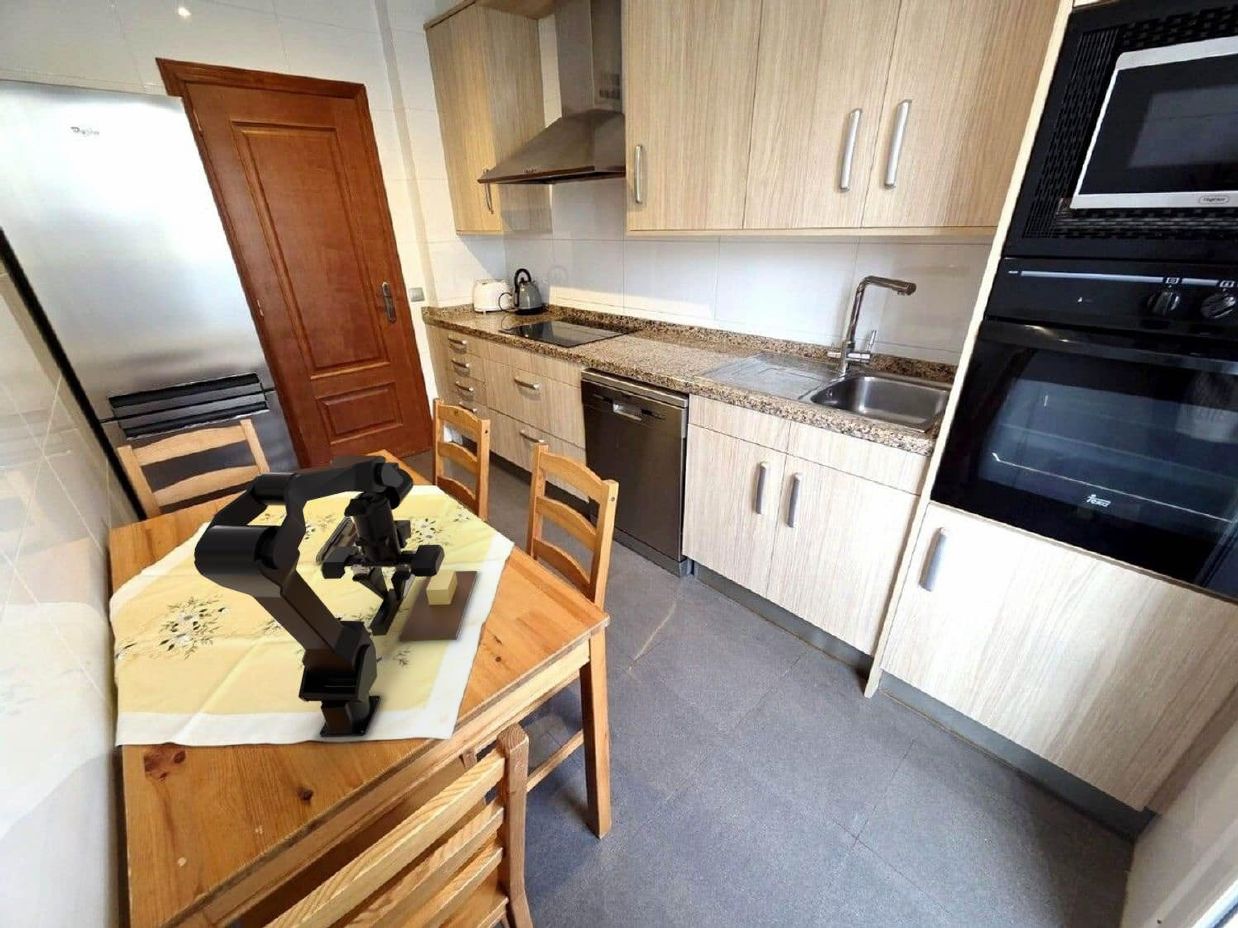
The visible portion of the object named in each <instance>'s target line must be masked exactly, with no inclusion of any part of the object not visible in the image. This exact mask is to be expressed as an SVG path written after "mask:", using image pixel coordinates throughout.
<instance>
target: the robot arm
mask: <svg viewBox="0 0 1238 928" xmlns="http://www.w3.org/2000/svg"><path fill="white" fill-rule="evenodd" d="M414 483H415V482H414V479H413V478H412V476H411V475H410V473H409V472H407V471H406V470H405V469H403V468H401V467H400V464H399V462H396V461H395V462H394V461H392V462H390V461H388V462H387V458H386V457H385V456H384V455H373V454H371V455H370V454H369V455H368V454H366V455H365V454H353V455H352V454H342V455H340V456H338V457H335V458H333V459H331V460H330V461H329V464H327V465H323V466H313V467H307V468H299V469H294V470H286V471H266V472H265V471H264V472H262V473H260V474H257V475H255V477H253V479H252V480H251V482H250V483H249V485H248V487H247V489H246V490H245V491H244V492H243V493H241V494H240V495H239V496H237V497H236V498H234V499H233V500H232V501H231V502H229V503H228V504H227V505H225V506H224V507H222V508H221V509H219V510H218V511H217V512H216V514H214V516H213V518H212V520H210V522H209V524H208V526H207V527H206V529H205V530H204V532H203V534H202V535H201V536H200V537H199V539H198V541H197V543H196V544H195V547H194V553H193V558H194V560H193V564H194V566H195V569H196V570H197V572H198V573H199V575H200V576H202V577H204V578H206V579H207V580H209V581H211V582H212V583H214V584H216V585H218V586H220V587H223V588H225V589H229V590H231V591H235V592H238V593H241V594H245V595H248V596H250V597H251V598H253V599H254V600H255V601H256V602H257V603H258V604H259V605H260V606H261V607H262V609H264V610H265V611H266V612H267V613H268V614H269V615H270V616H271V617H272V618H273V619H274V620H275V621H276V622H277V623H278V624H279V625H280V626H281V627H282V628H283V629H284V630H285V631H286V632H287V633H288V634H289V635H290V636H291V637H292V638H293V639H294V640H295V641H296V642H297V643H298V644H299V645H300V646H301V647H302V648H303V649H304V652H303V655H302V658H301V663H302V665H303V671H302V676H301V681H300V685H299V691H298V694H297V695H298V698H299V700H301V701H303V702H304V703H309V702H320V703H321V705H320V710H321V713H322V716H323V718H324V720H325V722H324V724H323V726H322V728H321V730H320V732H319V737H320V738H343V737H344V738H345V737H346V738H347V737H363V736H365V735H366V734H367V732H368V730H369V728H370V724H371V723H372V721H373V718H374V716H375V714H376V711H377V709H378V708H379V704H380V702H381V700H382V699H381V696H380V695H370V691H371V689H372V687H373V686H374V683H375V681H376V680H377V678H378V665H377V664H378V663H377V648H376V646H375V643H374V641H373V639H372V637H371V636H372V631H368V630H367V628H366V626H365V624H364V623H363V622H362V621H361V620H340V619H339V620H338V619H337V617H336V616H335V615H334V614H333V613H332V611H331V610H330V609H329V608H328V607H327V606H326V604H325V603H324V602H323V601H322V599H321V598H320V597H319V596H318V594H317V593H316V591H314V589H313V588H311V586H310V585H309V584H308V582H307V581H306V580H305V578H304V577H302V575H301V574H300V573H299V572H298V570H297V567H298V564H299V560H300V557H301V551H300V549H299V548H300V546H301V543H302V541H303V539H304V537H305V535H306V534H307V526H306V520H305V514H304V509H305V507H306V505H307V503H308V502H311V501H315V500H318V499H322V498H327V497H331V496H335V495H339V494H342V493H358V494H357V495H355V497H353V498H350V499H349V503H348V505H347V506H346V507H345V508H344V511H343V516H344V517H345V516H350V517H352V521H353V523H355V527H356V531H357V534H358V537H357V539H356V540H355V544H356V546H361V549H360V551H359V548H358V547H356V546H341V547H335V548H334V549H333V550H332V551H331V552H330V554H329V555H328V556H327V557H326V559H325V560H324V561H323V562H321V564H320V568H319V569H320V572H321V573H320V574H321V576H322V578H323V579H324V580H340V579H342V578H343V577H344V576H345V575H346V569H345V568H346V567H350V571H352V574H353V576H352V578H351V580H352V582H354V583H359V584H361V585H362V586H364V587H365V588H366V589H368V590H369V591H371V592H372V593H373V594H374V595H376V596H377V597H378V598H380V599H381V600H382V601H383V600H384V598H385V596H386V594H387V593H388V591H389V589H388V587H387V582H386V580H385V576H384V573H383V568H394V572H393V574H392V576H391V577H390V581H391V585H392V588H394V591H395V594H396V596H397V598H398V600H399V601H401V600H402V598H403V595H404V590H405V585H406V580H409V579H410V577H411V575H412V574H413V575H415V576H416V577H415V578H426V577H433V576H435V575H437V573H438V571H439V570H440V568H441V566H442V564H443V562H444V559H445V557H446V555H445V550H444V549H445V548H444V547H443V546H442V545H441V544H419V545H418V546H417V549H416V550H415V549H407V550H404V549H405V548H406V547H407V540H408V539H412V523H411V519H395V518H394V514H393V510H396V509H398V508H399V507H400V505H401V504H402V503H403V502H404V500H405V499H406V497H407V496H408V495H409V494H410V493H411V491H412V490H413V488H414V485H415V484H414ZM269 506H271V507H272V506H273V507H275V506H276V507H277V506H278V507H285V513H286V515H285V516H284V519H283V520H282V522H281V524H280V525H277V524H250V523H252V522H253V521H255V519H257V518H258V517H260V515H261V514H264V512H265V511H267V509H268V507H269ZM360 552H361V553H362V554H361V555H358V554H359V553H360Z"/></svg>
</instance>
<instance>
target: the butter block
mask: <svg viewBox="0 0 1238 928" xmlns="http://www.w3.org/2000/svg"><path fill="white" fill-rule="evenodd" d="M457 584H458V583H457V577H456V575H455V577H454V580H453V583H452V585H451V588H450V591H449V593H448V594H429V595H427V597H428V602H429V605H439V604H450V603H451V600H452V598H453V595H454V592H455V590H456V587H457Z"/></svg>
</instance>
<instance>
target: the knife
mask: <svg viewBox="0 0 1238 928" xmlns="http://www.w3.org/2000/svg"><path fill="white" fill-rule="evenodd" d="M416 578H417V577H416V576H415V575H413V574H412V575H411V577H410V579H409V580H406V585H405V590H404V595H403V598H402V600H401V601H399V600H398V598H397V596H396V594H395V591H394V588H393V587H392V588H389V589H388V593H387V594H386V596H385V598H384V600H382V601H381V604H380V605H379V607H378V609H377V611H376V613H375V614H374V617H373V618H372V620H371V622H370V624H369V628H370V632H371V633H372V634H371V636H373V637H377V636H378V637H381V636H387V635H388V632H390V631H389V630H390V629H391V627H392V625H393V622H394V620H395V618H396V616H397V614H398V612H399V610H400V608H401V606H402V604H403V602H404V600H405V599H406V597H407V596H408V594H409V591H410V589H411V587H412V585H413V583H414V581H415V579H416Z"/></svg>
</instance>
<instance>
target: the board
mask: <svg viewBox="0 0 1238 928" xmlns="http://www.w3.org/2000/svg"><path fill="white" fill-rule="evenodd" d="M455 572H456V577H457V583H458V584H457V587H456V590H455V592H454V595H453V598H452V600H451V603H450V604H439V605H429V602H428V597H427V592H426V589H427V587H428V584H429V582H430V580H431V578H432V577H425V579H424V581H423V583H422V585H421V587H420V590H419V592H418V594H417V596H416V599H415V600H414V603H413V605H412V607H411V609H410V611H409V613H408V616H407V618H406V620H405V622H404V625H403V627H402V628H401V631H400V633H399V636H398V640H399V642H409V641H411V642H413V641H415V642H416V641H443V640H444V641H445V640H446V641H447V640H448V641H449V640H458V635H459V632H460V630H461V627H462V623H463V620H464V617H465V615H466V611H467V608H468V605H469V601H470V599H471V596H472V593H473V590H474V586H475V584H476V579H477V576H478V571H477V570H455Z"/></svg>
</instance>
